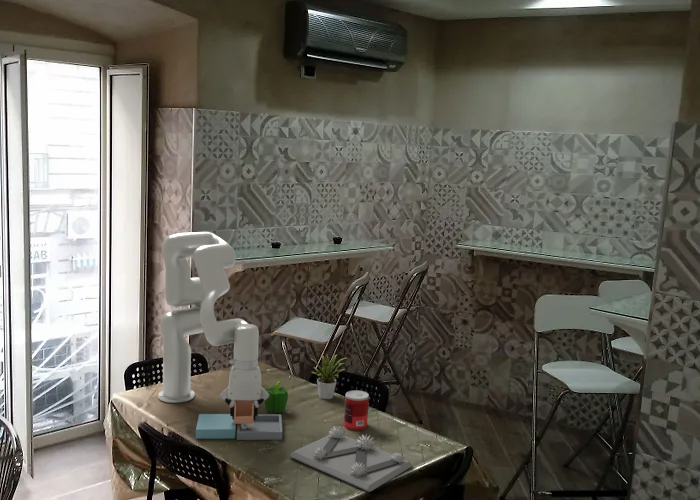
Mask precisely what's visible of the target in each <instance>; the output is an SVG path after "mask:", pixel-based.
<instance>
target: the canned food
mask: <svg viewBox="0 0 700 500" xmlns="http://www.w3.org/2000/svg"><path fill="white" fill-rule="evenodd" d="M344 397H345V398H344V414H343V415H344V416H343V425H344V428H346V429H347V430H350V431H354V432H355V431H362V430H365V429H366V428H367V426H368V420H369V419H368V417H369V401H370V399H369V398H370V395H369V393H368V392H366V391H363V390H349V391H347V392H346V393H345V396H344Z"/></svg>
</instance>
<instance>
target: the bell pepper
mask: <svg viewBox="0 0 700 500" xmlns="http://www.w3.org/2000/svg"><path fill="white" fill-rule="evenodd" d="M280 384H281V381H280V380H278V381H277V382H276V384H275V385H273V386H270V387H267V388H264V390H265V391H266V392H267V393H268V394H269V397H268V398H267V399H266V400H265V401H264V402H263V403H264V407H265V409H266V411H267V412H268V413H275V414H281V413H283V412H284V411H285V409H286V407H287V402H288V399H289V398H288V397H289V396H288V395H289V393H288V390H287V389H286V388H285V387H284V386H280Z"/></svg>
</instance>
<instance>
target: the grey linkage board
mask: <svg viewBox="0 0 700 500" xmlns="http://www.w3.org/2000/svg"><path fill="white" fill-rule="evenodd" d="M343 430H344V429H343V428H342V429H341V427H339V428H338V426H336V427H335V426H333V427H330V430H329V431H328V432H327V434H328V435H325V436H324V437H322V438H320V439H317V440H315V441H313V442H311V443H309V444H307V445H304V446H302V447H300V448H297V449H296V450H293V451H292V452H291V453H290V458H291V459H293V460H296V461H298V462H300V463H301V464H304V465H306V466H309V467H311V468H314V469H316V470H318V471H320V472H323V473H324V474H327V475H329V476H331V477H333V478H336V479H338V480H341V481H343V482H345V483H347V484H349V485H352V486H354V487H356V488H358V489H361V490H364V491H366V492H368V493H371V492H372V491H374V490H375V489H377V488H379V487H381V486H382V485H384V484H385V483H386V484H387V482H388V481H391V480H392V479H394V478H395V477H398V476H399V475H401V474H402V473H404V472H405V471H408V469H410V468H412V467H413V464H412V463H411V461H410V460H408V459H406V458H404V456H403V453H402V454H401V453H399V452H395V453H389V452H387V451H384V450H382V449H380V448H377V447H374V446H375V445H376V441H375V440H373V439H374V437H372V438H370V436H371V434H369V436H367V434H365V436H364V434H362V436H360V435H358V438H359V439H355V438H352V437H349V436H347V434H345V431H343Z"/></svg>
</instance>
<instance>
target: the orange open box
mask: <svg viewBox="0 0 700 500" xmlns="http://www.w3.org/2000/svg"><path fill="white" fill-rule="evenodd" d="M253 416H254V402H253V400H236V401H235V404H234V424H236V425H238V424H253Z"/></svg>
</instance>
